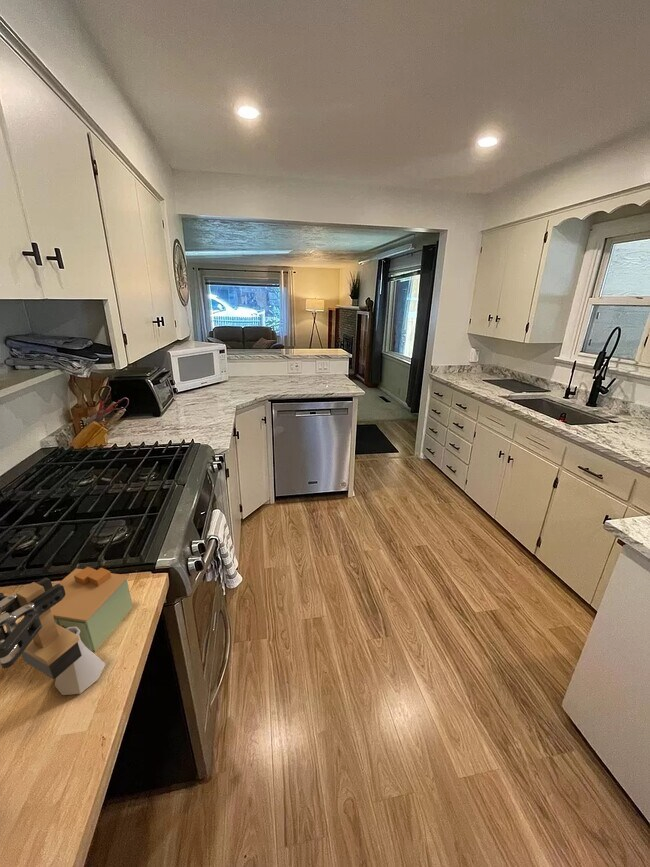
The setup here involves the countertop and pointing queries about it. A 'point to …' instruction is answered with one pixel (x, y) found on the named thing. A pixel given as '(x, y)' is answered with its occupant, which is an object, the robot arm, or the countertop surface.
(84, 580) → the crust
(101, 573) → the block
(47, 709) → the countertop surface
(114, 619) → the cabinet
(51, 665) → the brush
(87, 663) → the flask
